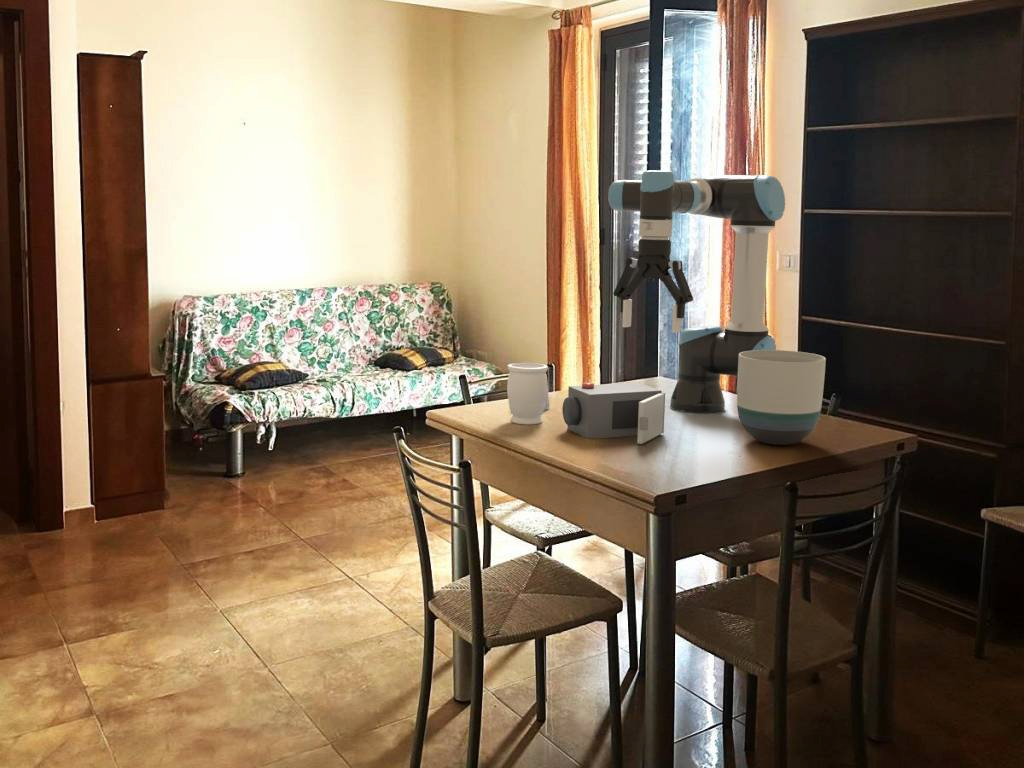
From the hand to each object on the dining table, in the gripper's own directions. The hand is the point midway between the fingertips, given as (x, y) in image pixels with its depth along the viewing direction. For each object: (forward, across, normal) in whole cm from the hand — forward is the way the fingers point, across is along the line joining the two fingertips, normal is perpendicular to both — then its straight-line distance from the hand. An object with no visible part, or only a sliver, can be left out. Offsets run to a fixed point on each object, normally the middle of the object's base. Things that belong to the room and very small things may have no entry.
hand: (651, 329), depth 252 cm
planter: (+28, +22, +24) cm, 43 cm away
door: (+27, -2, +5) cm, 28 cm away
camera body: (+28, -14, +7) cm, 32 cm away
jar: (+28, -37, +1) cm, 46 cm away
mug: (+28, -46, +16) cm, 56 cm away
